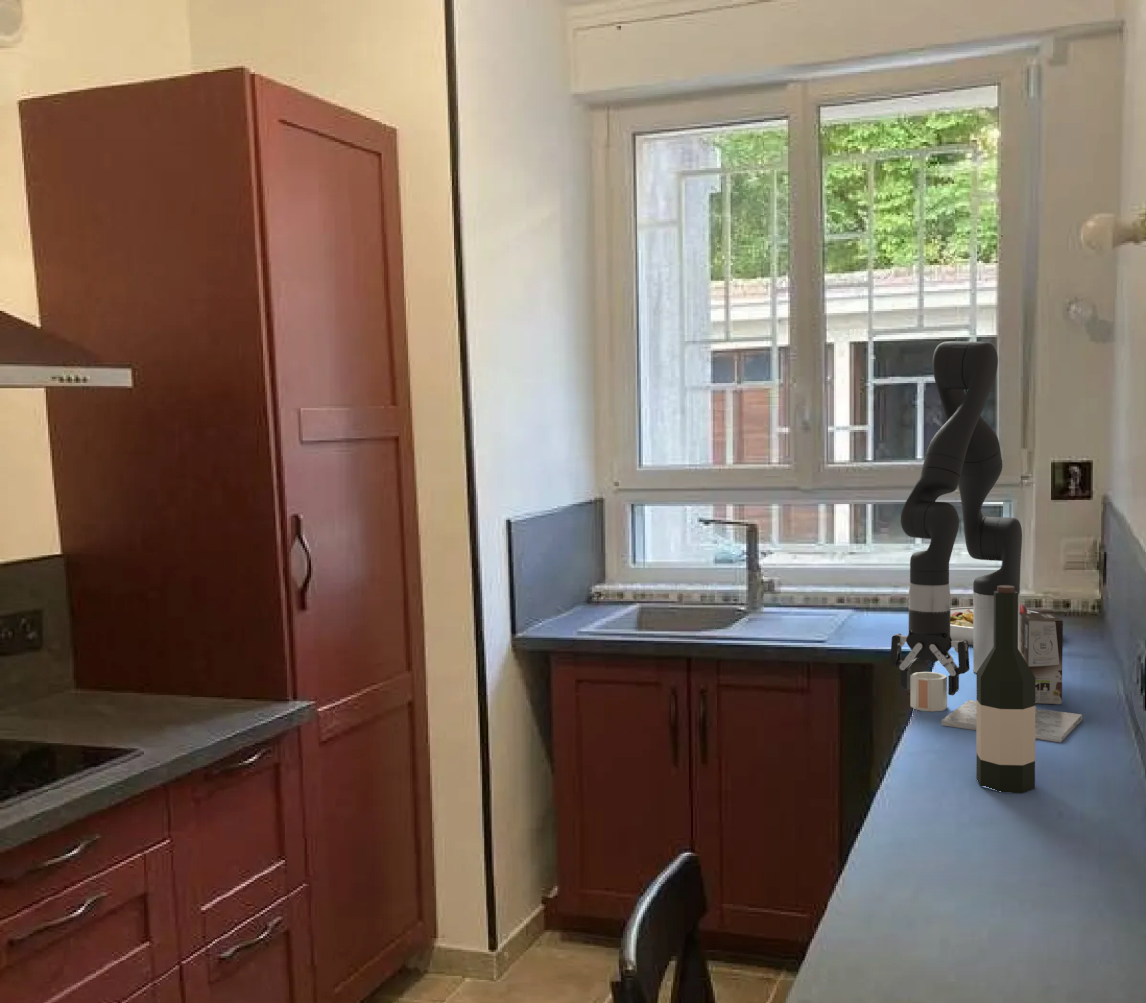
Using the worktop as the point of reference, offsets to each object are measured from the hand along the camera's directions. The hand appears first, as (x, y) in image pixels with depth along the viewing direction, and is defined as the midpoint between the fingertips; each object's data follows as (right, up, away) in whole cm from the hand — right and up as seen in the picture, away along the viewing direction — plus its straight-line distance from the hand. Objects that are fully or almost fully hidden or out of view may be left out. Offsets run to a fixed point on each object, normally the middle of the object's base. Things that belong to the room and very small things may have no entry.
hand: (929, 691), depth 210 cm
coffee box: (+23, -2, +5) cm, 24 cm away
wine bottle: (-2, -7, -43) cm, 44 cm away
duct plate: (+11, -4, -11) cm, 16 cm away
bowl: (+36, +2, +64) cm, 73 cm away
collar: (0, -3, +1) cm, 3 cm away
